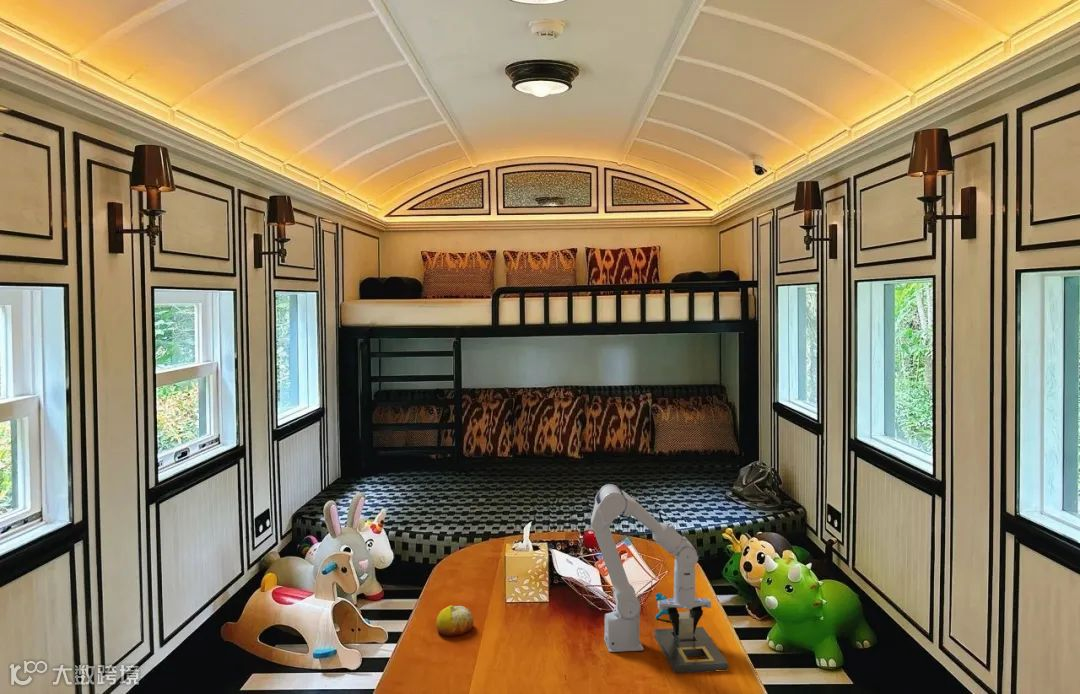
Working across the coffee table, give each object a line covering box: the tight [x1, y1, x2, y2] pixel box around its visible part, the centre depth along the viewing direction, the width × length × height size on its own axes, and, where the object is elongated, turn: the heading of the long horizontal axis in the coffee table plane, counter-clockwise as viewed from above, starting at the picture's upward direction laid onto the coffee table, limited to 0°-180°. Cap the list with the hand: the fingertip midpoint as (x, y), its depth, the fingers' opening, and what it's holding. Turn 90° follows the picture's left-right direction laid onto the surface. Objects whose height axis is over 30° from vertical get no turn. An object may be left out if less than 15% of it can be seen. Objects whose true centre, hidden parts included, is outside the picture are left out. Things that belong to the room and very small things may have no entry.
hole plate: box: [653, 626, 729, 675], centre depth 188 cm, size 14×20×2 cm
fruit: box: [435, 604, 474, 637], centre depth 202 cm, size 11×10×8 cm
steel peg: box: [675, 611, 694, 642], centre depth 193 cm, size 4×4×8 cm
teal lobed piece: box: [654, 592, 671, 620], centre depth 208 cm, size 11×6×10 cm
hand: (683, 633), depth 193 cm, fingers closed on steel peg, 4 cm apart
